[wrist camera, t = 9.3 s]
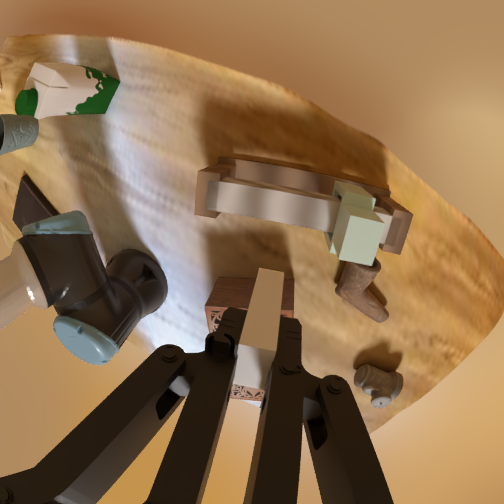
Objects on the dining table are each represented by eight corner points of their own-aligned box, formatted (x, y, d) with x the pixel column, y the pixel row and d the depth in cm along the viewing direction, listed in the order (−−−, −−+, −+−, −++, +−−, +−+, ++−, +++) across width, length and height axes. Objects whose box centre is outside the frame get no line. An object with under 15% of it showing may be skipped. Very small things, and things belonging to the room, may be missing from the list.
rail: (215, 202, 46) (193, 222, 36) (220, 156, 43) (197, 163, 33) (377, 233, 44) (398, 262, 34) (389, 190, 41) (416, 208, 30)
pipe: (376, 336, 47) (417, 308, 42) (319, 291, 45) (362, 255, 40) (374, 313, 53) (410, 287, 47) (320, 270, 50) (358, 236, 45)
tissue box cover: (219, 276, 53) (204, 305, 44) (294, 278, 50) (293, 310, 41) (231, 366, 63) (222, 397, 54) (289, 370, 61) (287, 402, 52)
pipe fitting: (403, 367, 56) (407, 399, 47) (382, 384, 60) (383, 414, 51) (370, 351, 56) (371, 384, 47) (349, 369, 60) (347, 401, 51)
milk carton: (81, 105, 41) (6, 109, 23) (98, 66, 37) (25, 56, 19) (106, 119, 42) (28, 125, 24) (126, 78, 38) (49, 66, 20)
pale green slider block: (323, 231, 40) (334, 271, 29) (335, 180, 37) (353, 201, 25) (348, 236, 40) (367, 277, 28) (360, 186, 37) (389, 210, 25)
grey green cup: (18, 137, 45) (-15, 145, 35) (29, 104, 41) (-6, 108, 31) (33, 155, 47) (-2, 164, 36) (45, 120, 43) (7, 125, 32)
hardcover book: (59, 268, 60) (54, 272, 58) (17, 217, 56) (12, 219, 54) (73, 228, 54) (67, 231, 52) (27, 174, 50) (21, 176, 48)
